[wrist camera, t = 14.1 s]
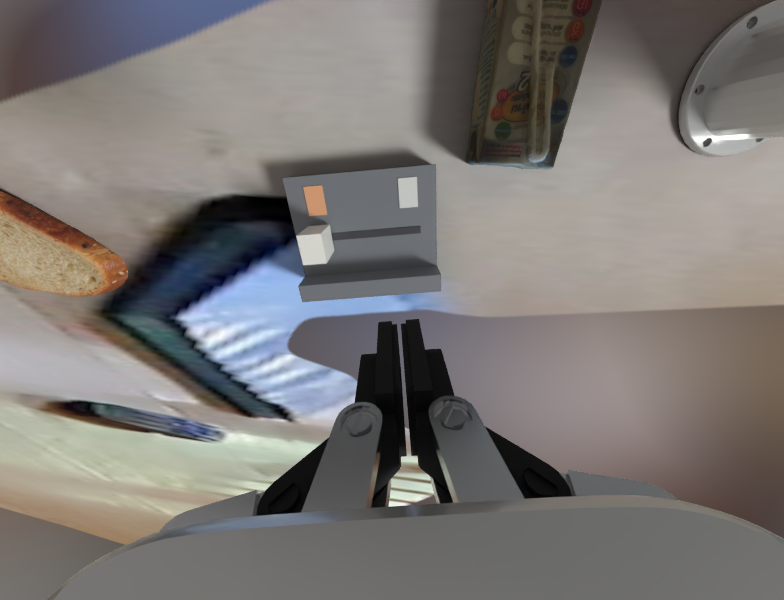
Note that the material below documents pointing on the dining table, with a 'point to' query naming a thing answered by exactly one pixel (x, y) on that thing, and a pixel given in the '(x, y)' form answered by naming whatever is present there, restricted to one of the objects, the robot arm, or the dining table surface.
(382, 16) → the dining table surface
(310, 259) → the knob
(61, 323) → the dining table surface
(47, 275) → the bread slice
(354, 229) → the grey slide switch panel
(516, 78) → the beverage carton
